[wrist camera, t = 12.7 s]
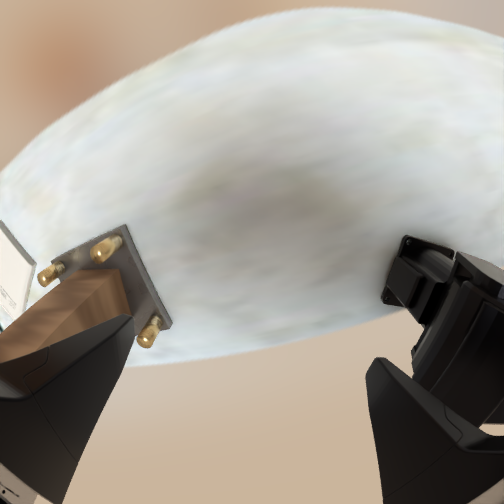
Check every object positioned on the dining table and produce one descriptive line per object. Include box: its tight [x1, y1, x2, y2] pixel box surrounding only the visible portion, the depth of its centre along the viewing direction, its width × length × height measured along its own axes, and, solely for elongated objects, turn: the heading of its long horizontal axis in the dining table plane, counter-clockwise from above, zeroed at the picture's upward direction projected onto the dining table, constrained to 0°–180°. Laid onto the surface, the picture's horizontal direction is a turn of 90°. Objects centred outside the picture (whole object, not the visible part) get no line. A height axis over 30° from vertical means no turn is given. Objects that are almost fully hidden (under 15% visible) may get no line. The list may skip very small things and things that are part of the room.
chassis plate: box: [37, 225, 172, 348], centre depth 21 cm, size 10×10×4 cm
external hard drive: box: [0, 220, 37, 321], centre depth 24 cm, size 2×8×12 cm
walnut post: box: [0, 269, 132, 363], centre depth 16 cm, size 5×5×14 cm
